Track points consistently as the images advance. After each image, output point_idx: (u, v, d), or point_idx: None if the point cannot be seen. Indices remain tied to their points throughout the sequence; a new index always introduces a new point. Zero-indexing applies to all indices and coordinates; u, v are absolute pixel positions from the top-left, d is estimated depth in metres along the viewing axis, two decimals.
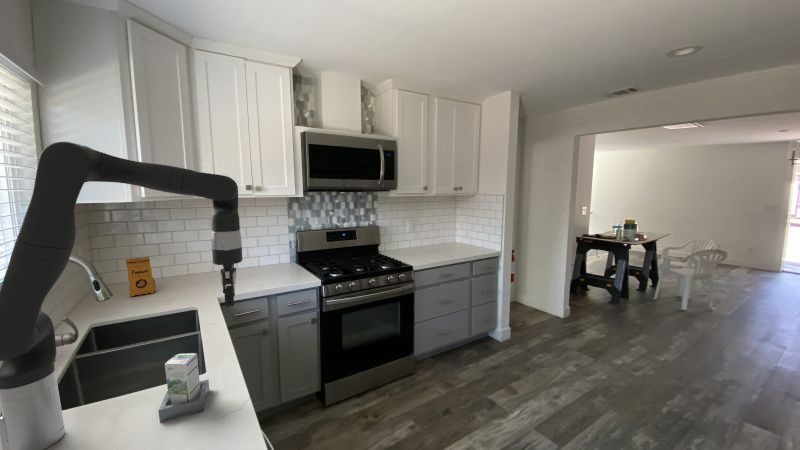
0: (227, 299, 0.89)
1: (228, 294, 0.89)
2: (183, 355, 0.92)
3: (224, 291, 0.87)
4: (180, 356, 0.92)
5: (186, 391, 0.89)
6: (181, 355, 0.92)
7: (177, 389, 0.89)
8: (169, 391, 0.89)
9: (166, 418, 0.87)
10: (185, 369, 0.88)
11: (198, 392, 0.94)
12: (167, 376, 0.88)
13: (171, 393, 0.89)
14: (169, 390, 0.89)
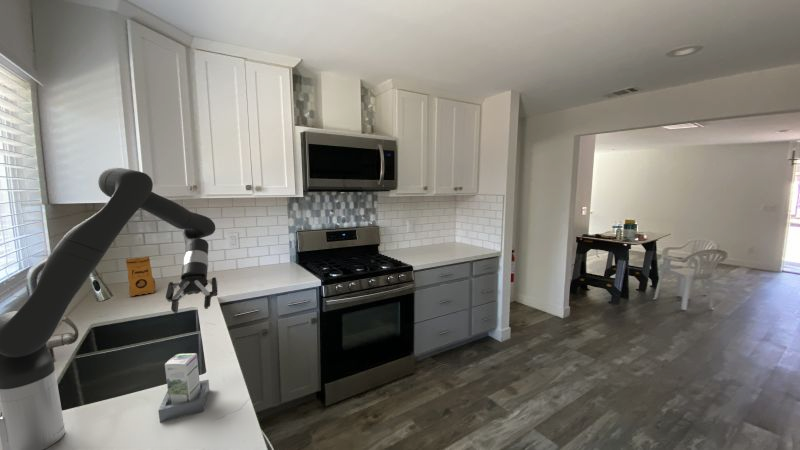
0: (209, 300, 1.06)
1: (210, 296, 1.07)
2: (183, 355, 0.92)
3: (216, 291, 1.08)
4: (180, 356, 0.92)
5: (186, 391, 0.89)
6: (181, 355, 0.92)
7: (177, 389, 0.89)
8: (169, 391, 0.89)
9: (166, 418, 0.87)
10: (185, 369, 0.88)
11: (198, 392, 0.94)
12: (167, 376, 0.88)
13: (171, 393, 0.89)
14: (169, 390, 0.89)
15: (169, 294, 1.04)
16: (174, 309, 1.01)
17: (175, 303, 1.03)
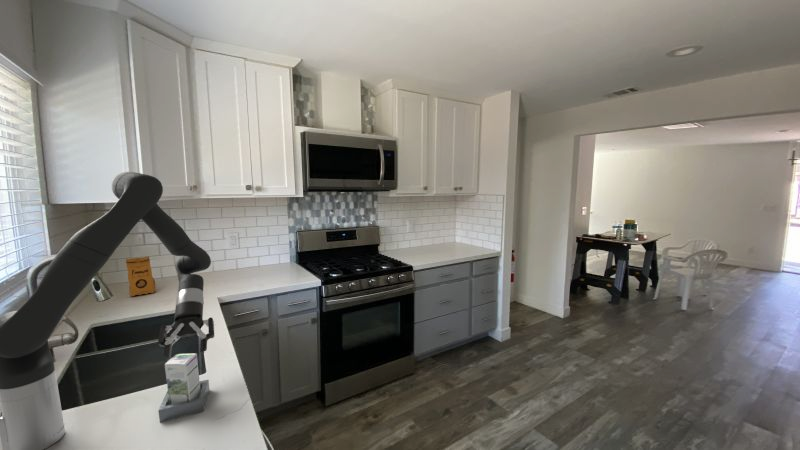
0: (206, 344, 0.99)
1: (207, 339, 1.00)
2: (183, 355, 0.92)
3: (213, 333, 1.00)
4: (180, 356, 0.91)
5: (186, 391, 0.89)
6: (181, 355, 0.92)
7: (177, 389, 0.89)
8: (169, 391, 0.89)
9: (166, 418, 0.87)
10: (185, 369, 0.88)
11: (198, 392, 0.94)
12: (167, 377, 0.88)
13: (171, 393, 0.89)
14: (169, 390, 0.89)
15: (162, 339, 0.96)
16: (167, 356, 0.93)
17: (168, 349, 0.95)
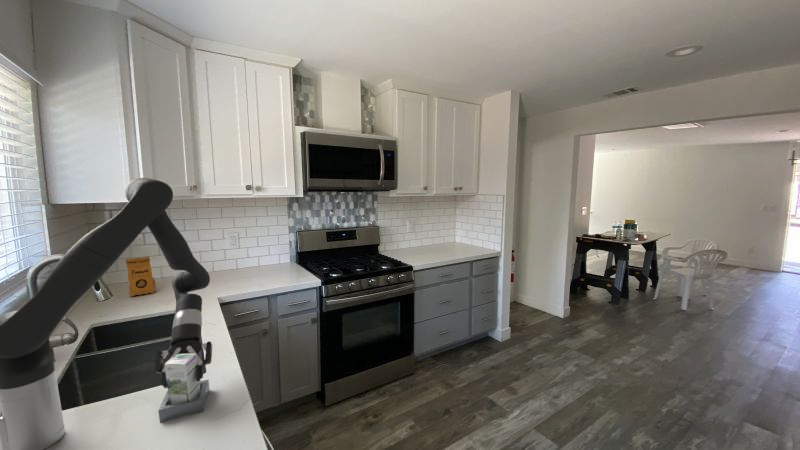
0: (202, 371, 0.93)
1: (203, 366, 0.94)
2: (183, 355, 0.92)
3: (209, 359, 0.95)
4: (180, 356, 0.91)
5: (186, 391, 0.89)
6: (181, 355, 0.92)
7: (177, 389, 0.89)
8: (169, 391, 0.89)
9: (166, 418, 0.87)
10: (185, 369, 0.88)
11: (198, 392, 0.94)
12: (167, 376, 0.88)
13: (171, 393, 0.89)
14: (169, 390, 0.89)
15: (159, 365, 0.90)
16: (165, 384, 0.88)
17: None
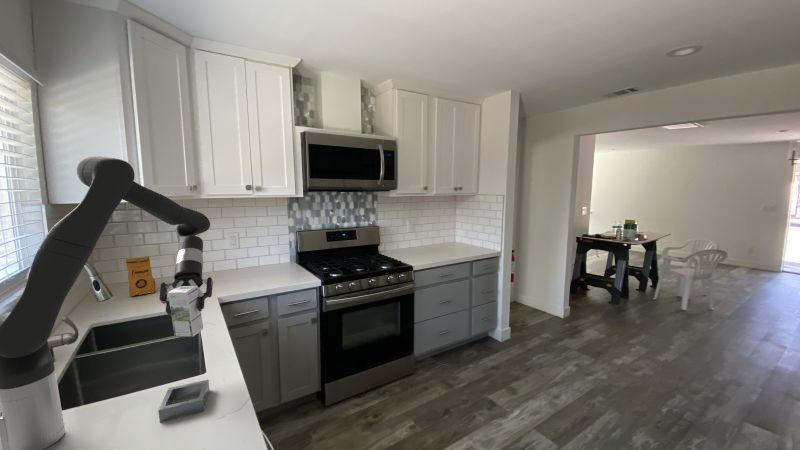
0: (203, 302, 1.00)
1: (204, 298, 1.01)
2: (185, 287, 0.99)
3: (210, 292, 1.02)
4: (182, 287, 0.98)
5: (188, 318, 0.96)
6: (183, 287, 0.99)
7: (180, 316, 0.96)
8: (173, 318, 0.96)
9: (166, 418, 0.87)
10: (187, 297, 0.95)
11: (200, 322, 1.01)
12: (171, 304, 0.95)
13: (175, 320, 0.96)
14: (173, 317, 0.96)
15: (163, 295, 0.97)
16: (169, 311, 0.95)
17: None
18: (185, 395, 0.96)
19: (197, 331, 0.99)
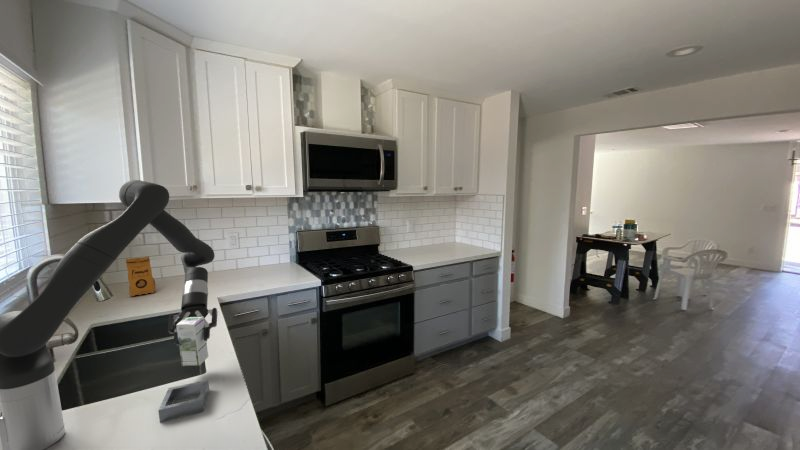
0: (209, 332, 1.06)
1: (210, 328, 1.07)
2: (192, 318, 1.05)
3: (215, 322, 1.08)
4: (189, 319, 1.05)
5: (195, 348, 1.02)
6: (190, 318, 1.05)
7: (187, 347, 1.02)
8: (181, 348, 1.02)
9: (166, 418, 0.87)
10: (194, 329, 1.01)
11: (205, 351, 1.07)
12: (178, 335, 1.02)
13: (182, 350, 1.02)
14: (180, 347, 1.02)
15: (171, 326, 1.04)
16: (177, 342, 1.01)
17: (177, 336, 1.03)
18: (185, 395, 0.96)
19: (203, 360, 1.06)
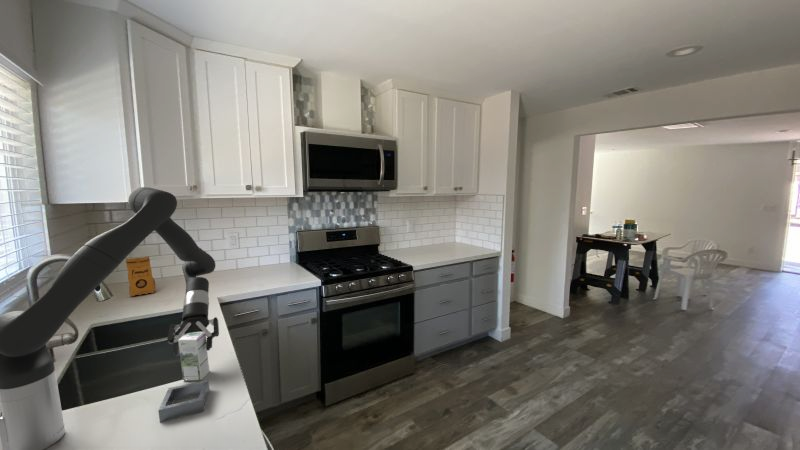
0: (211, 341, 1.07)
1: (212, 337, 1.08)
2: (193, 333, 1.06)
3: (217, 331, 1.09)
4: (191, 334, 1.05)
5: (197, 363, 1.03)
6: (192, 333, 1.06)
7: (189, 362, 1.03)
8: (182, 363, 1.03)
9: (166, 418, 0.87)
10: (196, 344, 1.02)
11: (206, 365, 1.08)
12: (180, 351, 1.02)
13: (184, 365, 1.03)
14: (182, 362, 1.03)
15: (171, 337, 1.04)
16: (176, 352, 1.02)
17: (177, 346, 1.03)
18: (185, 395, 0.96)
19: (204, 374, 1.06)
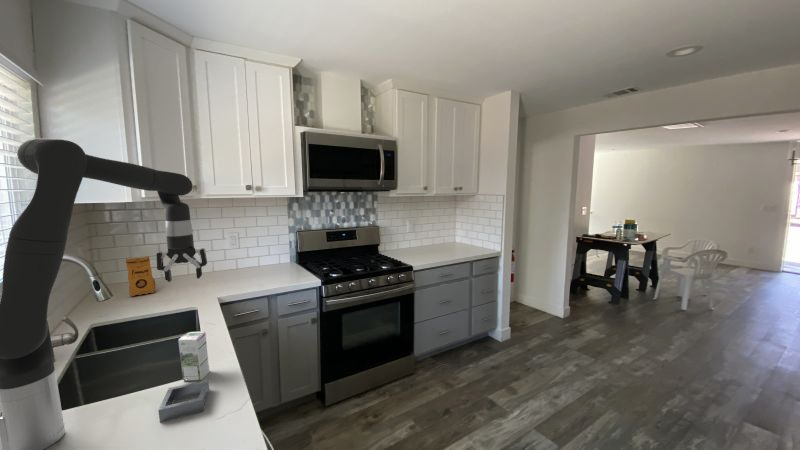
0: (201, 271, 1.14)
1: None
2: (194, 333, 1.06)
3: (206, 263, 1.14)
4: (191, 333, 1.05)
5: (197, 363, 1.03)
6: (192, 333, 1.06)
7: (189, 362, 1.03)
8: (182, 363, 1.03)
9: (166, 418, 0.87)
10: (196, 344, 1.02)
11: (207, 365, 1.08)
12: (180, 351, 1.02)
13: (184, 365, 1.03)
14: (182, 362, 1.03)
15: (160, 265, 1.08)
16: (168, 280, 1.10)
17: (168, 274, 1.09)
18: (185, 395, 0.96)
19: (204, 374, 1.06)
